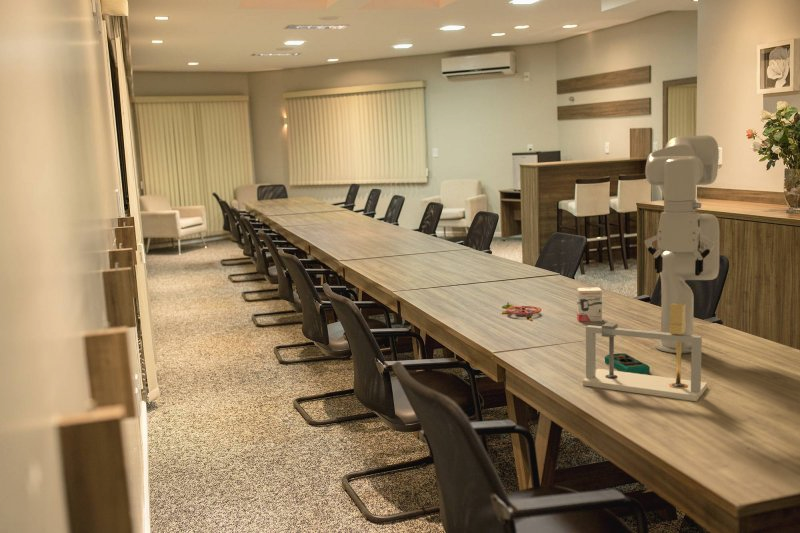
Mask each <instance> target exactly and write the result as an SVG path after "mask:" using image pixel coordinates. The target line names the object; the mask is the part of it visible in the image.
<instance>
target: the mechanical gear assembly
mask: <svg viewBox="0 0 800 533" xmlns="http://www.w3.org/2000/svg"><path fill="white" fill-rule="evenodd" d="M501 309H504V310H506V311H501V315H510V314H512V315H517V316H518V315H519V316H524V317H525V318H526V320H529V321H530V322H533V319H532V315H536V314H539V313H541V312H542V308H540V307H537V306H533V305H517V306H516V305H513V303H510V302H508V301H507V302H506V305H505V304H504V305H502V306H501Z"/></svg>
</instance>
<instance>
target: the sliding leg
mask: <svg viewBox="0 0 800 533" xmlns="http://www.w3.org/2000/svg"><path fill="white" fill-rule="evenodd" d="M685 330H686V322H685V304H682V303H673V304H671V307H670V334H681V335H682V334H683V333H684V332H685ZM675 355H676V356H675V358H676V359H675V378H676V384H681V379H682V378H681V377H682V375H681V374H682V353H681V342H679V341H676V353H675Z"/></svg>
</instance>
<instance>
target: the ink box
mask: <svg viewBox="0 0 800 533" xmlns="http://www.w3.org/2000/svg"><path fill="white" fill-rule="evenodd" d="M576 320H577V321H578V322H579V323H580V322H581V323H582V322H583V323H584V322H603V290H602V289H601V288H600V287H597V286H596V287H578V288H576Z"/></svg>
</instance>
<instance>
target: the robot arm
mask: <svg viewBox="0 0 800 533" xmlns="http://www.w3.org/2000/svg"><path fill="white" fill-rule="evenodd" d="M719 152H720V150H719V144H718V141H717V140H716V138H715V137H713V136H712V135H706V134H705V135H683V136H682V135H681V136H675V137H672V138H671V139H670V140H668V142H666V145H665V146H664V148H661V149H657V150H654V151H652V152H651V153H649V155H648V156H647V160H646V164H645V172H644V173H645V178H646V181H647V182H648V183H649V185H651V186H659V188H660V191H661V193H662V196H663V211H661V213H660V218H659V223H658V230H657V231H658V232H657V234H656V235H653V236H651V237H649V238H647V239H646V240H645V239H644V241H643V242H644V244H645V247H646V248H647V251H648V252H649V253H650V254H651V255H652V256H653V258H654V270H655V271H656V274H660V282H661V283H660V284H661V285H660V286H661V288H660V289H661V291H660V292H661V297H660V298H661V300H660V301H661V304H660V305H661V309H660V310H661V313H660V314H661V318H660V319H661V320H660V324H661V325H660V332H665V333H670V307H671V304H673V303H682V304H685V322H686V330H685V332H684V333H683V334H685V335H694V304H695V303H694V298H695V297H694V296H695V295H694V293H693V290H692V289H691V287H690V286H689V285H688V283H686V281H711V280H715V279H716V278H717V277H718V276H719V273H720V224H719V221H718V220H719V219H718V218H717V216H715V215H714V214H710V213H699V212H698V211H696V210H697V209H702V202H697V199H696V189H697V188H696V186H706V185H707V186H708V185H711V184H713V183H714V182H715V181H716V179H717V176H718V172H719V171H718V169H719V168H718V166H719V158H720V157H719V156H720V155H719V154H720V153H719ZM656 241H657V249H656V248H655V247H654V245H653V243H654V242H656ZM702 247H703V248H702ZM691 347H692V343H688V342H681V354H689V353H691ZM655 348H656V349H657V350H659V351H663V352H666V353H672V354H676V341H669V340H659V341H657V342H656V343H655Z"/></svg>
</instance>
